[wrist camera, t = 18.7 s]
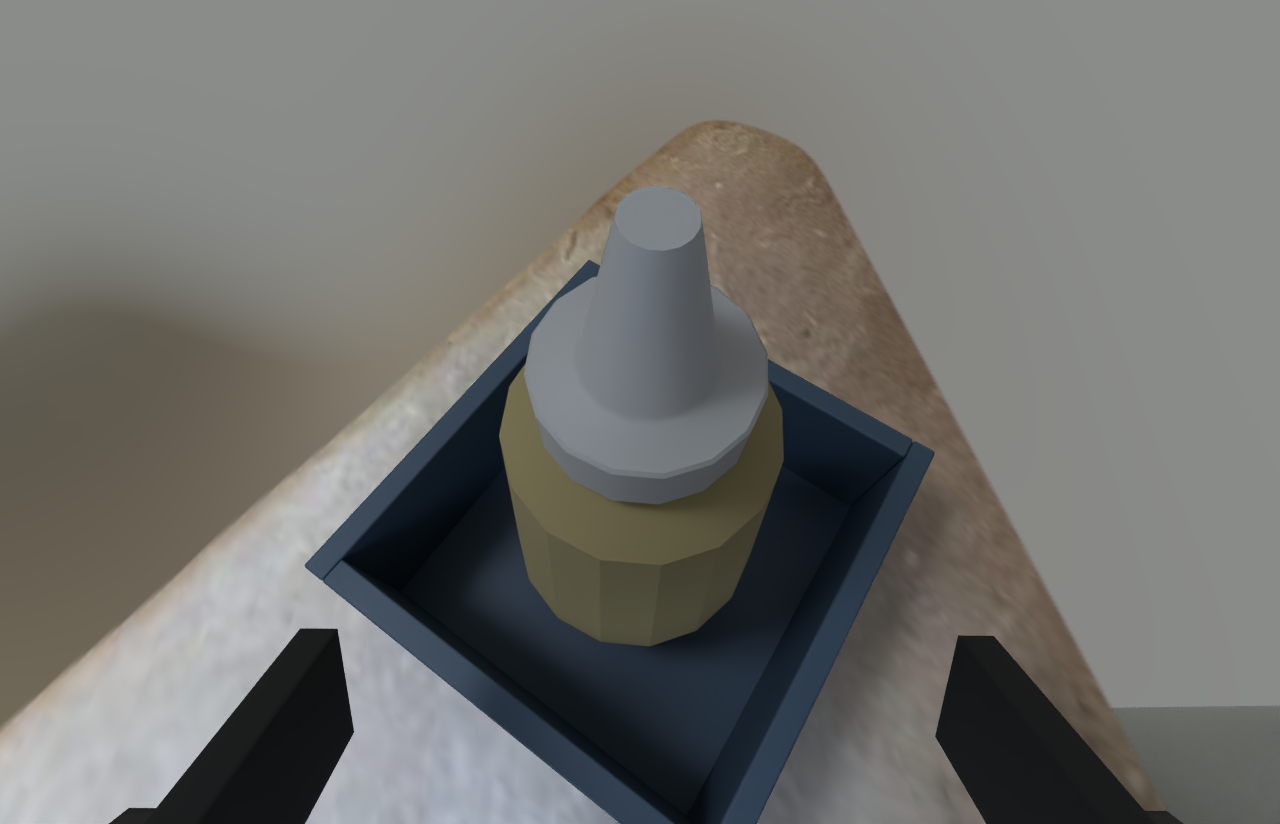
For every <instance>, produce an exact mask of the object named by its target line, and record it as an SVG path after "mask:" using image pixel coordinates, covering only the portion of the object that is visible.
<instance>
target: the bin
mask: <svg viewBox="0 0 1280 824" xmlns="http://www.w3.org/2000/svg"><path fill="white" fill-rule="evenodd" d="M599 268H600V266H599V265H598V264H596V263H594V262H592V261H590V260H588V261H587V262H586V263H585V264H584V266H583V267H582V268H581V269H580V270H579V271H578V272H577V273H576V274H575V275H574V276H573V277H572V278H571V279H570V281H569V282H568V283H567V284H566V285H565V286H564V287H563V288H562V289H561V290H560V291H559V292H558V293H557V295H556V296H555V297H554V298H553V299H552V300H551V301H550V302H549V303H548V304H547V305H546V306H545V307H544V308H543V310H542V311H541V312H540V313H539V314H538V315H537V316H536V317H535V318H534V319H533V320H532V321H531V322H530V323H529V325H528V326H527V327H526V328H525V329H524V330H523V331H522V332H521V333H520V334H519V335H518V336H517V337H516V339H515V340H514V341H513V342H512V343H511V344H510V345H509V346H508V347H507V348H506V349H505V350H504V351H503V352H502V354H501V355H500V356H499V357H498V358H497V359H496V360H495V361H494V362H493V363H492V364H491V365H490V366H489V368H488V369H487V370H486V371H485V372H484V373H483V374H482V375H481V376H480V377H479V378H478V379H477V380H476V381H475V383H474V384H473V385H472V386H471V387H470V388H469V389H468V390H467V391H466V392H465V393H464V394H463V395H462V397H461V398H460V399H459V400H458V401H457V402H456V403H455V404H454V405H453V406H452V407H451V408H450V409H449V410H448V412H447V413H446V414H445V415H444V416H443V417H442V418H441V419H440V420H439V421H438V422H437V423H436V424H435V425H434V427H433V428H432V429H431V430H430V431H429V432H428V433H427V434H426V435H425V436H424V437H423V438H422V439H421V441H420V442H419V443H418V444H417V445H416V446H415V447H414V448H413V449H412V450H411V451H410V452H409V453H408V454H407V456H406V457H405V458H404V459H403V460H402V461H401V462H400V463H399V464H398V465H397V466H396V467H395V468H394V470H393V471H392V472H391V473H390V474H389V475H388V476H387V477H386V478H385V479H384V480H383V481H382V482H381V483H380V485H379V486H378V487H377V488H376V489H375V490H374V491H373V492H372V493H371V494H370V495H369V496H368V497H367V499H366V500H365V501H364V502H363V503H362V504H361V505H360V506H359V507H358V508H357V509H356V510H355V511H354V512H353V514H352V515H351V516H350V517H349V518H348V519H347V520H346V521H345V522H344V523H343V524H342V525H341V526H340V527H339V529H338V530H337V531H336V532H335V533H334V534H333V535H332V536H331V537H330V538H329V539H328V540H327V541H326V543H325V544H324V545H323V546H322V547H321V548H320V549H319V550H318V551H317V552H316V553H315V554H314V555H313V556H312V558H311V559H310V560H309V561H308V562H307V563H306V564H305V567H306V568H307V569H308V570H309V571H310V572H312V573H313V574H314V575H315V576H317V577H318V578H319V579H320V580H322V581H323V582H324V583H325V584H326V585H328V586H329V587H330V588H331V589H332V590H334V591H335V592H336V593H337V594H339V595H340V596H341V597H342V598H343V599H345V600H346V601H347V602H348V603H350V604H351V605H352V606H353V607H355V608H356V609H357V610H358V611H359V612H361V613H362V614H363V615H364V616H366V617H367V618H368V619H369V620H371V621H372V622H373V623H374V624H375V625H377V626H378V627H379V628H380V629H382V630H383V631H384V632H385V633H387V634H388V635H389V636H390V637H391V638H393V639H394V640H395V641H396V642H398V643H399V644H400V645H401V646H403V647H404V648H405V649H406V650H407V651H409V652H410V653H411V654H412V655H414V656H415V657H416V658H417V659H418V660H420V661H421V662H422V663H423V664H425V665H426V666H427V667H428V668H430V669H431V670H432V671H433V672H434V673H436V674H437V675H438V676H439V677H441V678H442V679H443V680H444V681H446V682H447V683H448V684H449V685H450V686H452V687H453V688H454V689H455V690H457V691H458V692H459V693H460V694H462V695H463V696H464V697H465V698H466V699H468V700H469V701H470V702H471V703H473V704H474V705H475V706H476V707H477V708H479V709H480V710H481V711H482V712H484V713H485V714H486V715H487V716H489V717H490V718H491V719H492V720H493V721H495V722H496V723H497V724H498V725H500V726H501V727H502V728H503V729H505V730H506V731H507V732H508V733H509V734H511V735H512V736H513V737H514V738H516V739H517V740H518V741H519V742H521V743H522V744H523V745H524V746H525V747H527V748H528V749H529V750H530V751H532V752H533V753H534V754H535V755H536V756H538V757H539V758H540V759H541V760H543V761H544V762H545V763H546V764H548V765H549V766H550V767H551V768H552V769H554V770H555V771H556V772H557V773H559V774H560V775H561V776H562V777H564V778H565V779H566V780H567V781H568V782H570V783H571V784H572V785H573V786H575V787H576V788H577V789H578V790H580V791H581V792H582V793H583V794H584V795H586V796H587V797H588V798H589V799H591V800H592V801H593V802H594V803H596V804H597V805H598V806H599V807H600V808H602V809H603V810H604V811H605V812H607V813H608V814H609V815H610V816H611V817H613V818H614V819H615V820H616V821H618V822H619V823H620V824H756V823H757V821H758V819H759V817H760V815H761V813H762V811H763V809H764V806H765V804H766V802H767V800H768V798H769V796H770V794H771V792H772V790H773V788H774V786H775V784H776V782H777V780H778V777H779V775H780V773H781V771H782V769H783V767H784V765H785V763H786V761H787V759H788V757H789V755H790V753H791V751H792V748H793V746H794V744H795V742H796V740H797V738H798V736H799V734H800V732H801V730H802V728H803V726H804V724H805V722H806V719H807V717H808V715H809V713H810V711H811V709H812V707H813V705H814V703H815V701H816V699H817V697H818V695H819V693H820V690H821V688H822V686H823V684H824V682H825V680H826V678H827V676H828V674H829V672H830V670H831V668H832V666H833V664H834V661H835V659H836V657H837V655H838V653H839V651H840V649H841V647H842V645H843V643H844V641H845V639H846V637H847V635H848V632H849V630H850V628H851V626H852V624H853V622H854V620H855V618H856V616H857V614H858V612H859V610H860V608H861V606H862V603H863V601H864V599H865V597H866V595H867V593H868V591H869V589H870V587H871V585H872V583H873V581H874V579H875V577H876V574H877V572H878V570H879V568H880V566H881V564H882V562H883V560H884V558H885V556H886V554H887V552H888V550H889V548H890V545H891V543H892V541H893V539H894V537H895V535H896V533H897V531H898V529H899V527H900V525H901V523H902V521H903V519H904V516H905V514H906V512H907V510H908V508H909V506H910V504H911V502H912V500H913V498H914V496H915V494H916V492H917V489H918V487H919V485H920V483H921V481H922V479H923V477H924V475H925V473H926V471H927V469H928V467H929V465H930V463H931V460H932V458H933V456H934V451H932V450H930V449H928V448H927V447H925V446H923V445H921V444H919V443H918V442H913V443H912V439H910V438H909V437H907V436H905V435H903V434H901V433H900V432H898V431H896V430H894V429H892V428H891V427H889V426H887V425H885V424H883V423H882V422H880V421H878V420H876V419H874V418H873V417H871V416H869V415H867V414H865V413H864V412H862V411H860V410H858V409H856V408H855V407H853V406H851V405H849V404H847V403H846V402H844V401H842V400H840V399H838V398H837V397H835V396H833V395H831V394H829V393H828V392H826V391H824V390H822V389H820V388H819V387H817V386H815V385H813V384H811V383H810V382H808V381H806V380H804V379H802V378H801V377H799V376H797V375H795V374H793V373H792V372H790V371H788V370H786V369H784V368H783V367H781V366H779V365H777V364H775V363H774V362H772V361H770V360H768V381H769V383H770V385H771V387H772V389H773V391H774V393H775V395H776V398H777V400H778V402H779V404H780V406H781V408H782V418H783V453H784V461H783V464H782V466H781V469H780V472H779V475H778V478H777V480H776V483H775V486H774V489H773V492H772V494H771V497H770V500H769V503H768V506H767V509H766V511H765V514H764V517H763V520H762V523H761V525H760V528H759V531H758V534H757V537H756V539H755V542H754V545H753V548H752V551H751V553H750V556H749V558H748V561H747V563H746V565H745V568H744V570H743V572H742V575H741V577H740V579H739V582H738V584H737V586H736V589H735V591H734V593H733V596H732V598H731V599H730V600H729V601H728V602H727V603H726V604H725V605H723V606H722V607H721V608H720V609H719V610H718V611H717V612H716V613H715V614H714V615H713V616H712V617H711V618H710V619H708V620H707V621H706V622H705V623H704V624H703V625H702V626H701V627H700V628H699V629H698V630H697V631H694V632H691V633H688V634H685V635H682V636H679V637H676V638H673V639H670V640H668V641H665V642H662V643H659V644H656V645H653V646H639V645H628V644H617V643H606V642H600V641H598V640H596V639H594V638H592V637H591V636H589V635H587V634H585V633H584V632H582V631H580V630H578V629H576V628H575V627H573V626H571V625H569V624H567V623H566V622H564V621H562V620H560V619H558V618H557V616H556V615H555V614H554V612H553V611H552V610H551V608H550V607H549V606H548V604H547V603H546V602H545V600H544V599H543V598H542V596H541V595H540V594H539V592H538V591H537V590H536V588H535V587H534V586H533V584H532V583H531V582H530V580H529V577H528V573H527V569H526V564H525V560H524V556H523V552H522V547H521V543H520V539H519V534H518V529H517V524H516V519H515V514H514V509H513V504H512V499H511V494H510V489H509V483H508V478H507V473H506V468H505V463H504V458H503V453H502V448H501V443H500V438H499V434H500V429H501V424H502V419H503V414H504V410H505V405H506V400H507V395H508V390H509V386H510V385H511V383H512V382H513V380H514V379H515V378H516V376H517V375H518V373H519V372H520V371H521V369H522V368H523V366H524V365H525V364H526V360H527V355H528V350H529V345H530V340H531V335H532V333H533V331H534V330H535V329H536V327H537V326H538V324H539V323H540V322H541V320H542V319H543V318H544V316H545V315H546V313H547V312H548V311H549V309H550V308H551V306H552V305H553V304H554V302H555V301H556V300H557V299H559V298H561V297H562V296H564V295H565V294H567V293H568V292H570V291H572V290H573V289H575V288H576V287H578V286H579V285H581V284H583V283H584V282H586V281H587V280H589V279H591V278H593V277H597V276H598V272H599Z"/></svg>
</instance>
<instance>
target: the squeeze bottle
mask: <svg viewBox="0 0 1280 824" xmlns="http://www.w3.org/2000/svg"><path fill="white" fill-rule="evenodd" d="M499 438H500V443H501V448H502V453H503V458H504V463H505V468H506V473H507V478H508V483H509V489H510V494H511V499H512V504H513V509H514V514H515V519H516V524H517V529H518V534H519V539H520V543H521V547H522V552H523V556H524V560H525V564H526V569H527V573H528V577H529V580H530V582H531V583H532V584H533V586H534V587H535V588H536V590H537V591H538V592H539V594H540V595H541V596H542V598H543V599H544V600H545V602H546V603H547V604H548V606H549V607H550V608H551V610H552V611H553V612H554V614H555V615H556V616H557V618H558V619H560V620H562V621H564V622H566V623H567V624H569V625H571V626H573V627H575V628H576V629H578V630H580V631H582V632H584V633H585V634H587V635H589V636H591V637H592V638H594V639H596V640H598V641H600V642H606V643H617V644H628V645H639V646H653V645H656V644H659V643H662V642H665V641H668V640H670V639H673V638H676V637H679V636H682V635H685V634H688V633H691V632H694V631H697V630H698V629H699V628H700V627H701V626H702V625H703V624H704V623H705V622H706V621H707V620H708V619H710V618H711V617H712V616H713V615H714V614H715V613H716V612H717V611H718V610H719V609H720V608H721V607H722V606H723V605H725V604H726V603H727V602H728V601H729V600H730V599H731V598H732V596H733V593H734V591H735V589H736V586H737V584H738V582H739V579H740V577H741V575H742V572H743V570H744V568H745V565H746V563H747V561H748V558H749V556H750V553H751V551H752V548H753V545H754V542H755V539H756V537H757V534H758V531H759V528H760V525H761V523H762V520H763V517H764V514H765V511H766V509H767V506H768V503H769V500H770V497H771V494H772V492H773V489H774V486H775V483H776V480H777V478H778V475H779V472H780V469H781V466H782V464H783V461H784V453H783V418H782V408H781V406H780V404H779V402H778V400H777V398H776V395H775V393H774V391H773V389H772V387H771V385H770V383H769V381H768V354H767V352H766V350H765V348H764V345H763V343H762V341H761V339H760V337H759V335H758V333H757V331H756V329H755V327H754V325H753V323H752V321H751V319H750V317H749V316H748V315H747V314H746V313H745V312H744V311H743V310H742V309H740V308H739V307H738V306H737V305H736V304H735V303H734V302H733V301H732V300H730V299H729V298H728V297H727V296H726V295H725V294H724V293H723V292H722V291H721V290H719V289H718V288H716V287H714V286H711V285H710V280H709V272H708V264H707V256H706V248H705V240H704V232H703V224H702V216H701V213H700V211H699V209H698V207H697V205H696V202H694V201H693V200H692V199H691V198H690V197H688V196H687V195H686V194H685V193H683V192H681V191H678V190H676V189H673V188H670V187H662V186H649V187H645V188H640V189H636V190H635V191H633V192H631V193H630V194H628V195H626V196H625V197H624V198H623V199H622V200H621V202H620V203H619V205H618V206H617V207H616V211H615V214H614V218H613V221H612V225H611V229H610V232H609V236H608V240H607V243H606V247H605V250H604V254H603V258H602V261H601V265H600V268H599V272H598V276H597V277H593V278H591V279H589V280H587V281H586V282H584V283H583V284H581V285H579V286H578V287H576V288H575V289H573V290H572V291H570V292H568V293H567V294H565V295H564V296H562V297H561V298H559V299H557V300H556V301H555V302H554V304H553V305H552V306H551V308H550V309H549V311H548V312H547V313H546V315H545V316H544V318H543V319H542V320H541V322H540V323H539V324H538V326H537V327H536V329H535V330H534V331H533V333H532V335H531V340H530V345H529V350H528V355H527V360H526V364H525V365H524V366H523V368H522V369H521V371H520V372H519V373H518V375H517V376H516V378H515V379H514V380H513V382H512V383H511V385H510V386H509V390H508V395H507V400H506V405H505V410H504V414H503V419H502V424H501V429H500V434H499Z"/></svg>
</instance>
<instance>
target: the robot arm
mask: <svg viewBox="0 0 1280 824" xmlns="http://www.w3.org/2000/svg"><path fill="white" fill-rule="evenodd" d="M353 733H354V729H353V723H352V717H351V710H350V704H349V698H348V692H347V686H346V679H345V673H344V667H343V661H342V654H341V648H340V642H339V636H338V629H300V630H299V631H298V632H297V633H296V635H295V636H294V637H293V638H292V640H291V641H290V642H289V643H288V645H287V646H286V647H285V648H284V650H283V651H282V652H281V653H280V655H279V656H278V657H277V658H276V660H275V661H274V662H273V663H272V665H271V666H270V667H269V668H268V670H267V671H266V672H265V673H264V675H263V676H262V677H261V678H260V680H259V681H258V682H257V683H256V685H255V686H254V687H253V688H252V690H251V691H250V692H249V693H248V695H247V696H246V697H245V698H244V700H243V701H242V702H241V703H240V705H239V706H238V707H237V708H236V709H235V711H234V712H233V713H232V714H231V716H230V717H229V718H228V719H227V721H226V722H225V723H224V724H223V726H222V727H221V728H220V729H219V731H218V732H217V733H216V734H215V736H214V737H213V738H212V739H211V741H210V742H209V743H208V744H207V746H206V747H205V748H204V749H203V751H202V752H201V753H200V754H199V756H198V757H197V758H196V759H195V761H194V762H193V763H192V764H191V766H190V767H189V768H188V769H187V771H186V772H185V773H184V774H183V776H182V777H181V778H180V779H179V781H178V782H177V783H176V784H175V786H174V787H173V788H172V789H171V791H170V792H169V793H168V794H167V796H166V797H165V798H164V799H163V801H162V802H161V803H160V804H159V806H158V807H157V808H128V809H127V810H126V811H125V812H123V813H122V814H121V815H119V816H118V817H117V818H116V819H114V820H113V821H112V822H111V823H109V824H305V822H306V821H307V819H308V817H309V815H310V813H311V811H312V809H313V808H314V806H315V804H316V802H317V800H318V798H319V796H320V795H321V793H322V791H323V789H324V787H325V785H326V783H327V782H328V780H329V778H330V776H331V774H332V772H333V770H334V768H335V767H336V765H337V763H338V761H339V759H340V757H341V755H342V754H343V752H344V750H345V748H346V746H347V744H348V742H349V741H350V739H351V737H352V735H353ZM935 737H936V738H937V740H938V742H939V744H940V745H941V747H942V749H943V750H944V752H945V754H946V756H947V757H948V759H949V761H950V762H951V764H952V766H953V768H954V769H955V771H956V773H957V774H958V776H959V778H960V780H961V781H962V783H963V785H964V786H965V788H966V790H967V792H968V793H969V795H970V797H971V798H972V800H973V802H974V804H975V805H976V807H977V809H978V810H979V812H980V814H981V816H982V817H983V819H984V821H985V822H986V824H1183V823H1182V822H1180V821H1179V820H1178V819H1176V818H1175V817H1174V816H1173V815H1171V814H1170V813H1169V812H1167V811H1144V810H1143V809H1142V807H1141V806H1140V805H1139V804H1138V803H1137V802H1136V800H1135V799H1134V798H1133V797H1132V796H1131V795H1130V794H1129V792H1128V791H1127V790H1126V789H1125V788H1124V787H1123V785H1122V784H1121V783H1120V782H1119V781H1118V780H1117V778H1116V777H1115V776H1114V775H1113V774H1112V773H1111V771H1110V770H1109V769H1108V768H1107V767H1106V766H1105V765H1104V763H1103V762H1102V761H1101V760H1100V759H1099V758H1098V756H1097V755H1096V754H1095V753H1094V752H1093V751H1092V749H1091V748H1090V747H1089V746H1088V745H1087V744H1086V742H1085V741H1084V740H1083V739H1082V738H1081V737H1080V736H1079V734H1078V733H1077V732H1076V731H1075V730H1074V729H1073V727H1072V726H1071V725H1070V724H1069V723H1068V722H1067V720H1066V719H1065V718H1064V717H1063V716H1062V715H1061V713H1060V712H1059V711H1058V710H1057V709H1056V708H1055V707H1054V705H1053V704H1052V703H1051V702H1050V701H1049V700H1048V698H1047V697H1046V696H1045V695H1044V694H1043V693H1042V691H1041V690H1040V689H1039V688H1038V687H1037V686H1036V684H1035V683H1034V682H1033V681H1032V680H1031V679H1030V678H1029V676H1028V675H1027V674H1026V673H1025V672H1024V671H1023V669H1022V668H1021V667H1020V666H1019V665H1018V664H1017V662H1016V661H1015V660H1014V659H1013V658H1012V657H1011V655H1010V654H1009V653H1008V652H1007V651H1006V650H1005V649H1004V647H1003V646H1002V645H1001V644H1000V643H999V642H998V640H997V639H996V638H995V637H994V636H958V639H957V643H956V648H955V652H954V657H953V661H952V665H951V670H950V674H949V679H948V683H947V687H946V692H945V696H944V700H943V705H942V709H941V714H940V718H939V722H938V727H937V731H936V736H935Z"/></svg>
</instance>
